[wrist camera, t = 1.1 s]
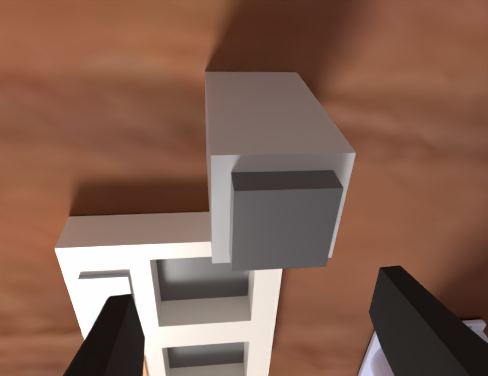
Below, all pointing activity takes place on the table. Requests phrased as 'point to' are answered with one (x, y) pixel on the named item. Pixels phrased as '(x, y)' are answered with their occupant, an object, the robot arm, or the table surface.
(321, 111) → the plug
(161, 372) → the socket strip
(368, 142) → the table surface
